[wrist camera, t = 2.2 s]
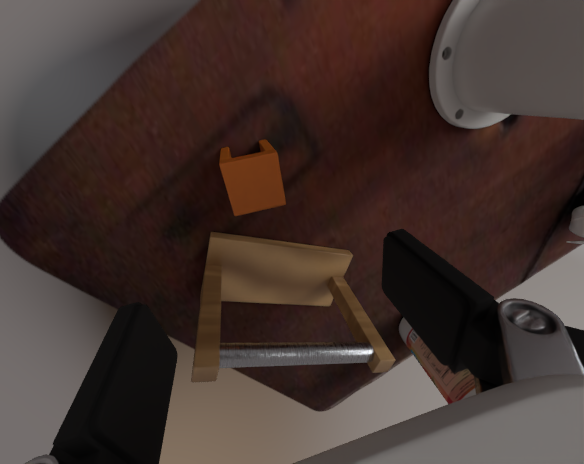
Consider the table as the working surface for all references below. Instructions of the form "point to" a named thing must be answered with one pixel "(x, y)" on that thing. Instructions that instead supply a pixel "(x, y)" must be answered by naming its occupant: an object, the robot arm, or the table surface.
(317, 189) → the table surface
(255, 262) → the rail stand
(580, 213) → the elephant figurine
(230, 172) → the clip
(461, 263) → the table surface
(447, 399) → the fruit juice
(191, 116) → the table surface
